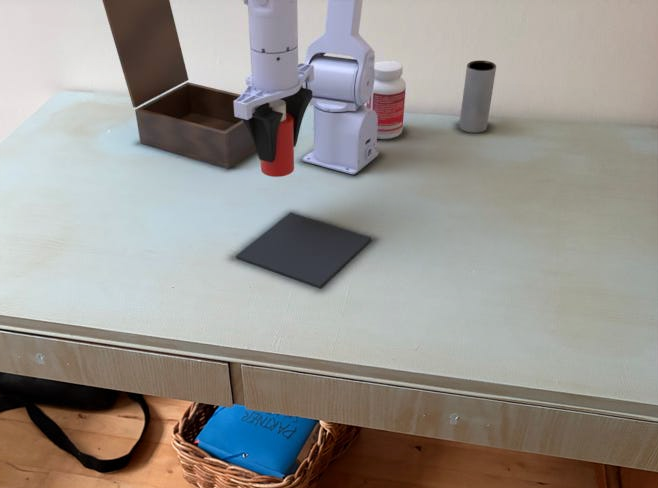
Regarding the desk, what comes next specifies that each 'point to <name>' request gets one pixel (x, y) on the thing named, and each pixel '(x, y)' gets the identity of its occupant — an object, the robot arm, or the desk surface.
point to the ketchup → (281, 144)
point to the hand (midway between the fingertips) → (277, 152)
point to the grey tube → (477, 96)
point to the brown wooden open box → (196, 125)
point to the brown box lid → (146, 46)
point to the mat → (304, 249)
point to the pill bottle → (388, 98)
